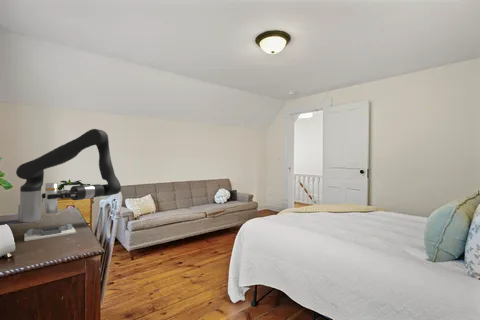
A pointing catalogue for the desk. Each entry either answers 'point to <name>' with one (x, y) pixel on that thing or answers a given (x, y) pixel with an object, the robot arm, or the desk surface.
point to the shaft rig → (49, 232)
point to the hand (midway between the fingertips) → (45, 196)
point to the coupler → (51, 204)
